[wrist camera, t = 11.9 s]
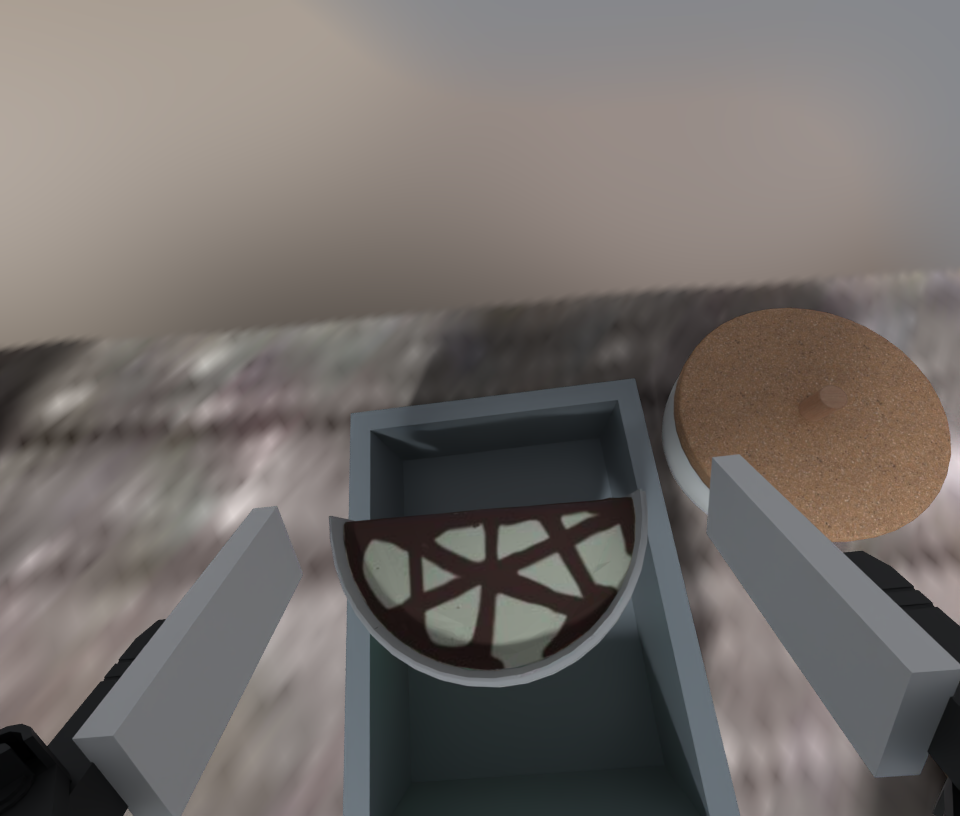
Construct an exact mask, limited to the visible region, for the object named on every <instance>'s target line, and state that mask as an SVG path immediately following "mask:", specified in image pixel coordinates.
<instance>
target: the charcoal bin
mask: <svg viewBox="0 0 960 816" xmlns="http://www.w3.org/2000/svg"><path fill="white" fill-rule="evenodd" d="M638 489H642V491H645V492H646V501H647V510H648V532H647V546H646V550H645V555H644V560H643V565H642V570H641V573H640V575H639V578H638V581H637V583H636V586H635V588H634V591H633V594H632V596H631V599H630V600H629V602H628V604H627V605H626V607H625V609H624V611H623V612H622V614H621V616H620V617H619V619H618V621H617V622H616V623H615V625H614V626H613V627H612V628H611V629H610V631H609V632H608V633H607V634H606V635H605V636H604V638H603V639H602V640H601V641H600V642H599V643H598V644H597V645H596V646H595V647H593V648H592V649H591V650H590V651H589V652H587V653H586V654H585V655H584V656H583V657H581V658H580V659H579V660H578V661H576V662H574V663H573V664H571V665H569V666H567V667H566V668H564V669H562V670H560V671H558V672H557V673H555V674H553V675H550V676H547V677H544V678H541V679H538V680H535V681H533V682H530V683H526V684H519V685H513V686H506V687H475V686H465V685H461V684H456V683H452V682H447V681H443V680H439V679H437V678H435V677H432V676H430V675H427V674H425V673H423V672H420V671H418V670H416V669H414V668H412V667H411V666H409V665H408V664H406V663H405V662H403V661H402V660H400V659H398V658H397V657H395V656H394V655H392V654H391V653H390V652H389V651H388V650H387V649H386V648H385V647H384V646H382V645H381V644H380V643H379V642H378V641H377V640H376V639H375V638H374V637H373V636H372V635H371V634H370V632H369V631H368V630H367V629H366V627H365V626H364V625H363V623H362V622H361V621H360V619H359V618H358V617H357V616H356V614H355V612H354V610H353V608H352V607H351V605H350V603H349V601H348V599H347V636H346V687H345V739H344V790H343V816H740V813H739V809H738V805H737V801H736V796H735V792H734V788H733V784H732V780H731V776H730V771H729V767H728V763H727V759H726V755H725V751H724V747H723V742H722V738H721V734H720V730H719V726H718V722H717V717H716V713H715V709H714V705H713V701H712V697H711V693H710V688H709V684H708V680H707V676H706V672H705V668H704V663H703V659H702V655H701V651H700V647H699V643H698V639H697V634H696V630H695V626H694V622H693V618H692V614H691V609H690V605H689V601H688V597H687V593H686V589H685V585H684V580H683V576H682V572H681V568H680V564H679V560H678V555H677V551H676V547H675V543H674V539H673V535H672V531H671V526H670V522H669V518H668V514H667V510H666V506H665V501H664V497H663V493H662V489H661V485H660V481H659V477H658V472H657V468H656V464H655V460H654V456H653V452H652V447H651V443H650V439H649V435H648V431H647V427H646V423H645V418H644V414H643V410H642V406H641V402H640V398H639V394H638V389H637V385H636V381H635V378H632V379H624V380H616V381H608V382H600V383H592V384H584V385H576V386H568V387H560V388H552V389H544V390H536V391H528V392H520V393H512V394H504V395H496V396H488V397H480V398H472V399H464V400H455V401H447V402H439V403H431V404H423V405H415V406H407V407H399V408H391V409H383V410H375V411H367V412H359V413H351V430H350V481H349V520H354V521H361V520H371V519H382V518H393V517H404V516H416V515H427V514H439V513H450V512H460V511H469V510H478V509H490V508H505V507H519V506H533V505H544V504H556V503H569V502H581V501H592V500H602V499H606V498H610V497H613V498H621V497H625V496H627V495H629V494H631V493H633V492H635V491H636V490H638Z"/></svg>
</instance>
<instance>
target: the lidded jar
mask: <svg viewBox="0 0 960 816" xmlns="http://www.w3.org/2000/svg"><path fill="white" fill-rule="evenodd" d="M662 443H663V449H664V454H665V457H666V461H667V464H668V467H669V469H670V471H671V473H672V475H673V477H674V479H675V480H676V482H677V483H678V485H679V486H680V488H681V489H682V491H683V492H684V493H685V494H686V495H687V496H688V498H689V499H690V500H691V501H692V502H693V503H694V504H695V505H696V506H697V507H699V508H700V509H701V510H702V511H703V512H705V513H706V514H707V515H708V506H709V492H710V479H711V466H712V457H719V456H728V455H737V454H740V455H741V456H742V457H743V458H744V459H745V460H746V461H747V462H748V463H749V464H750V465H751V466H752V467H753V468H754V469H755V470H756V471H757V472H759V473H760V474H761V475H762V476H763V477H764V478H765V479H766V480H767V481H768V482H769V483H770V484H771V485H772V486H773V487H774V488H775V489H776V490H777V491H779V492H780V493H781V494H782V495H783V496H784V497H785V498H786V499H787V500H788V501H789V502H790V503H791V504H792V505H793V506H794V507H795V508H796V509H797V510H798V511H800V512H801V513H802V514H803V515H804V516H805V517H806V518H807V519H808V520H809V521H810V522H811V523H812V524H813V525H814V526H815V527H816V528H817V529H818V530H820V531H821V532H822V533H823V534H824V535H825V536H826V537H827V538H828V539H829V540H830V541H831V542H848V541H855V540H861V539H867V538H873V537H878V536H881V535H884V534H886V533H889V532H892V531H895V530H897V529H899V528H901V527H903V526H904V525H906V524H908V523H910V522H911V521H913V520H914V519H916V518H917V517H918V516H919V515H920V514H921V513H922V512H923V511H925V510H926V509H927V508H928V507H929V506H930V504H931V503H932V501H933V500H934V499H935V497H936V496H937V495H938V493H939V492H940V490H941V487H942V485H943V483H944V480H945V478H946V476H947V472H948V466H949V461H950V457H951V443H950V432H949V427H948V421H947V417H946V414H945V412H944V409H943V407H942V405H941V402H940V400H939V398H938V396H937V394H936V392H935V391H934V389H933V387H932V385H931V384H930V382H929V380H928V379H927V378H926V377H925V376H924V374H923V373H922V372H921V371H920V369H919V368H918V367H917V366H916V365H915V364H914V363H913V362H912V361H911V360H910V359H909V358H908V357H907V356H906V355H905V354H904V353H903V352H902V351H901V350H900V349H898V348H897V347H896V346H894V345H893V344H892V343H890V342H889V341H888V340H886V339H885V338H883V337H882V336H880V335H878V334H877V333H875V332H873V331H872V330H870V329H868V328H867V327H865V326H862V325H860V324H858V323H855V322H853V321H851V320H848V319H845V318H842V317H839V316H836V315H833V314H830V313H826V312H820V311H815V310H809V309H798V308H777V309H766V310H761V311H755V312H751V313H748V314H745V315H742V316H739V317H736V318H734V319H732V320H730V321H728V322H726V323H724V324H722V325H720V326H719V327H717V328H716V329H715V330H713V331H712V332H711V333H709V334H708V335H707V336H706V337H705V338H704V339H703V340H702V341H701V342H700V343H699V344H698V345H697V346H696V348H695V349H694V350H693V352H692V354H691V355H690V357H689V358H688V360H687V361H686V363H685V364H684V366H683V368H682V371H681V373H680V376H679V377H678V379H677V381H676V382H675V384H674V386H673V388H672V391H671V393H670V395H669V398H668V401H667V403H666V406H665V411H664V416H663V423H662Z"/></svg>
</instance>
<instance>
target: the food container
mask: <svg viewBox="0 0 960 816" xmlns="http://www.w3.org/2000/svg"><path fill="white" fill-rule="evenodd" d="M329 526H330V542H331V547H332V553H333V559H334V564H335V568H336V571H337V574H338V577H339V580H340V583H341V586H342V589H343V592H344V593H345V595H346V597H347V599H348V601H349V603H350V605H351V607H352V608H353V610H354V612H355V614H356V616H357V617H358V618H359V619H360V621H361V622H362V623H363V625H364V626H365V627H366V629H367V630H368V631H369V632H370V634H371V635H372V636H373V637H374V638H375V639H376V640H377V641H378V642H379V643H380V644H381V645H382V646H384V647H385V648H386V649H387V650H388V651H389V652H390V653H391V654H392V655H394V656H395V657H397V658H398V659H400V660H402V661H403V662H405V663H406V664H408V665H409V666H411V667H412V668H414V669H416V670H418V671H420V672H423V673H425V674H427V675H430V676H432V677H435V678H437V679H439V680H443V681H447V682H452V683H456V684H461V685H465V686H475V687H506V686H513V685H519V684H526V683H530V682H533V681H535V680H538V679H541V678H544V677H547V676H550V675H553V674H555V673H557V672H558V671H560V670H562V669H564V668H566V667H567V666H569V665H571V664H573V663H574V662H576V661H578V660H579V659H580V658H581V657H583V656H584V655H585V654H586V653H587V652H589V651H590V650H591V649H592V648H593V647H595V646H596V645H597V644H598V643H599V642H600V641H601V640H602V639H603V638H604V636H605V635H606V634H607V633H608V632H609V631H610V629H611V628H612V627H613V626H614V625H615V623H616V622H617V621H618V619H619V617H620V616H621V614H622V612H623V611H624V609H625V607H626V605H627V604H628V602H629V600H630V599H631V596H632V594H633V591H634V588H635V586H636V583H637V581H638V578H639V575H640V573H641V570H642V565H643V560H644V555H645V550H646V546H647V532H648V510H647V501H646V492H645V491H642V489H638V490H636V491H635V492H633V493H631V494H629V495H627V496H625V497H621V498H613V497H610V498H606V499H602V500H592V501H581V502H569V503H556V504H544V505H533V506H519V507H505V508H490V509H478V510H469V511H460V512H450V513H439V514H427V515H416V516H404V517H393V518H382V519H371V520H361V521H354V520H349V519H344V518H339V517H334V516H329Z"/></svg>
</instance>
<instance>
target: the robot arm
mask: <svg viewBox="0 0 960 816" xmlns="http://www.w3.org/2000/svg"><path fill="white" fill-rule="evenodd" d="M706 533H707V535H708V536H709V538H710V539H711V541H712V542H713V544H714V545H715V547H716V548H717V549H718V551H719V552H720V554H721V555H722V557H723V558H724V560H725V561H726V563H727V564H728V565H729V567H730V568H731V570H732V571H733V573H734V574H735V576H736V577H737V579H738V580H739V581H740V583H741V584H742V586H743V587H744V589H745V590H746V592H747V593H748V594H749V596H750V597H751V599H752V600H753V602H754V603H755V605H756V606H757V608H758V609H759V610H760V612H761V613H762V615H763V616H764V618H765V619H766V621H767V622H768V624H769V625H770V626H771V628H772V629H773V631H774V632H775V634H776V635H777V637H778V638H779V640H780V641H781V642H782V644H783V645H784V647H785V648H786V650H787V651H788V653H789V654H790V655H791V657H792V658H793V660H794V661H795V663H796V664H797V666H798V667H799V669H800V670H801V671H802V673H803V674H804V676H805V677H806V679H807V680H808V682H809V683H810V685H811V686H812V687H813V689H814V690H815V692H816V693H817V695H818V696H819V698H820V699H821V701H822V702H823V703H824V705H825V706H826V708H827V709H828V711H829V712H830V714H831V715H832V716H833V718H834V719H835V721H836V722H837V724H838V725H839V727H840V728H841V730H842V731H843V732H844V734H845V735H846V737H847V738H848V740H849V741H850V743H851V744H852V746H853V747H854V748H855V750H856V751H857V753H858V754H859V756H860V757H861V759H862V760H863V762H864V763H865V764H866V766H867V767H868V769H869V770H870V772H871V773H872V775H873V776H874V777H875V778H878V777H893V776H909V775H920V774H921V771H922V769H923V767H924V764H925V762H926V760H927V757H928V755H929V754H930V755H931V757H932V758H933V759H934V760H935V761H936V763H937V764H938V765H939V766H940V768H941V769H942V770H943V771H944V772H945V774H946V775H947V776H948V778H947V780H946V782H945V784H944V786H943V788H942V791H941V793H940V795H939V797H938V799H937V801H936V804H935V807H934V810H933V813H932V814H934V815H936V816H943V814H944V812H945V816H960V626H959V625H958V624H956V623H955V622H954V621H953V620H952V619H951V618H950V617H948V616H947V615H946V614H945V613H944V612H943V611H942V610H940V609H939V608H938V607H934V606H933V603H932V602H931V601H930V600H929V599H928V598H927V597H926V596H924V595H923V594H922V593H921V592H920V591H919V590H915V589H914V586H913V585H912V584H911V583H909V582H908V581H907V580H906V579H905V578H904V577H903V576H901V575H900V574H899V573H898V572H897V571H896V570H895V569H893V568H892V567H891V566H889V565H887V564H886V563H884V562H882V561H880V560H878V559H876V558H875V557H873V556H871V555H869V554H867V553H865V552H864V551H855V552H845V553H843V552H842V551H841V550H839V549H838V548H837V547H836V546H835V545H834V544H833V543H832V542H831V541H830V540H829V539H828V538H827V537H826V536H825V535H824V534H823V533H822V532H821V531H820V530H818V529H817V528H816V527H815V526H814V525H813V524H812V523H811V522H810V521H809V520H808V519H807V518H806V517H805V516H804V515H803V514H802V513H801V512H800V511H798V510H797V509H796V508H795V507H794V506H793V505H792V504H791V503H790V502H789V501H788V500H787V499H786V498H785V497H784V496H783V495H782V494H781V493H780V492H779V491H777V490H776V489H775V488H774V487H773V486H772V485H771V484H770V483H769V482H768V481H767V480H766V479H765V478H764V477H763V476H762V475H761V474H760V473H759V472H757V471H756V470H755V469H754V468H753V467H752V466H751V465H750V464H749V463H748V462H747V461H746V460H745V459H744V458H743V457H742V456H741V455H740V454H737V455H728V456H719V457H712V466H711V479H710V492H709V506H708V519H707V532H706ZM302 576H303V572H302V570H301V567H300V564H299V562H298V559H297V557H296V554H295V551H294V549H293V546H292V544H291V541H290V538H289V536H288V533H287V531H286V528H285V525H284V523H283V520H282V518H281V515H280V512H279V510H278V507H277V506H273V507H264V508H255V509H253V510H252V511H251V512H250V514H249V515H248V516H247V517H246V519H245V520H244V521H243V522H242V524H241V525H240V526H239V528H238V529H237V530H236V531H235V533H234V534H233V535H232V536H231V538H230V539H229V540H228V541H227V543H226V544H225V545H224V547H223V548H222V549H221V550H220V552H219V553H218V554H217V555H216V557H215V558H214V559H213V561H212V562H211V563H210V564H209V566H208V567H207V568H206V569H205V571H204V572H203V573H202V575H201V576H200V577H199V578H198V580H197V581H196V582H195V583H194V585H193V586H192V587H191V588H190V590H189V591H188V592H187V594H186V595H185V596H184V597H183V599H182V600H181V601H180V602H179V604H178V605H177V606H176V608H175V609H174V610H173V611H172V613H171V614H170V615H169V616H168V618H167V619H163V620H158V621H157V622H155V623H154V624H153V625H152V626H151V627H149V628H148V629H147V630H146V631H145V632H143V633H142V634H141V635H140V636H139V637H137V638H136V639H135V640H134V642H133V643H132V644H131V645H130V646H129V648H128V649H127V650H126V651H125V653H124V654H123V655H122V656H121V657H120V659H119V662H118V664H115V665H114V666H113V667H112V668H111V670H110V671H109V672H108V673H107V674H106V676H105V677H104V678H105V679H104V681H101V682H100V683H99V684H98V685H97V687H96V688H95V689H94V690H93V691H92V693H91V694H90V695H89V696H88V697H87V699H86V700H85V701H84V702H83V704H82V705H81V706H80V707H79V708H78V710H77V711H76V712H75V713H74V714H73V716H72V717H71V718H70V719H69V721H68V722H67V723H66V724H65V725H64V727H63V728H62V729H61V730H60V731H59V733H58V734H57V735H56V736H55V738H54V739H53V740H52V741H51V742H50V744H49V745H48V746H46V745H45V743H44V742H43V741H42V740H41V739H40V738H39V736H38V735H37V734H36V733H35V732H34V730H33V729H32V728H31V727H29V726H26V725H24V724H18V725H13V726H7V727H5V728H3V729H0V816H123V815H124V813H125V812H126V810H127V808H128V809H129V811H130V812H131V813H132V814H133V815H134V816H181V814H182V812H183V810H184V809H185V807H186V805H187V803H188V801H189V799H190V797H191V795H192V793H193V791H194V789H195V787H196V785H197V783H198V781H199V779H200V777H201V775H202V773H203V771H204V769H205V767H206V765H207V763H208V761H209V759H210V757H211V755H212V753H213V751H214V749H215V747H216V745H217V743H218V741H219V739H220V737H221V735H222V733H223V732H224V730H225V728H226V726H227V724H228V722H229V720H230V718H231V716H232V714H233V712H234V710H235V708H236V706H237V704H238V702H239V700H240V698H241V696H242V694H243V692H244V690H245V688H246V686H247V684H248V682H249V680H250V678H251V676H252V674H253V672H254V670H255V668H256V666H257V664H258V662H259V660H260V658H261V656H262V655H263V653H264V651H265V649H266V647H267V645H268V643H269V641H270V639H271V637H272V635H273V633H274V631H275V629H276V627H277V625H278V623H279V621H280V619H281V617H282V615H283V613H284V611H285V609H286V607H287V605H288V603H289V601H290V599H291V597H292V595H293V593H294V591H295V589H296V587H297V585H298V583H299V581H300V579H301V578H302Z"/></svg>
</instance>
